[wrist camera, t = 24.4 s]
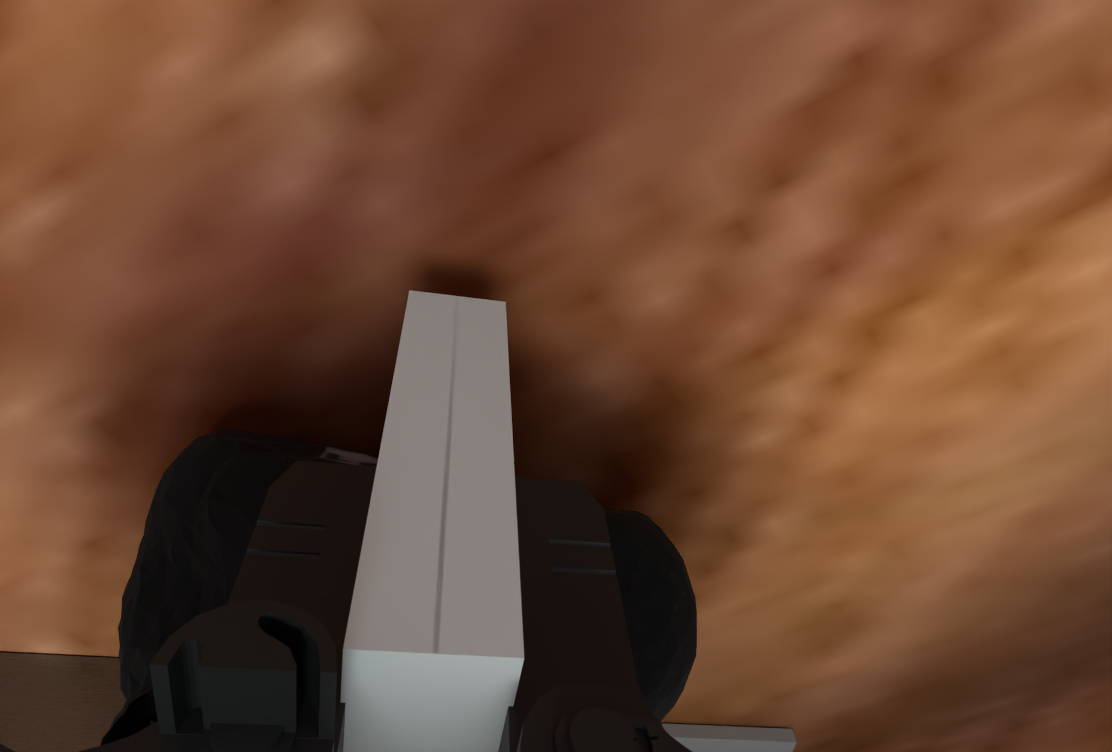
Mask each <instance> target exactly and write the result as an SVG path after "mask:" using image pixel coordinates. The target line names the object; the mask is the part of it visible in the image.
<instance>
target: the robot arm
mask: <svg viewBox="0 0 1112 752" xmlns="http://www.w3.org/2000/svg"><path fill="white" fill-rule="evenodd" d="M610 545H611V542H610V537H609V532H608V527H607V521H606V516H605V511H604V510H603V508H602V507H601V506H600V504H599V503H598V502H597V500H596V499H595V497H594V496H593V495H592V493H591V492H590V491H589V489H588V488H587V487H586V485H585V484H584V483H583V482H577V481H565V480H554V479H542V478H530V477H518V476H515V472H514V452H513V433H512V414H511V395H510V376H509V357H508V337H507V318H506V302H503V301H494V300H486V299H478V298H469V297H461V296H453V295H444V294H436V293H428V292H419V291H411V290H409V295H408V300H407V306H406V311H405V317H404V322H403V327H402V333H401V338H400V344H399V349H398V354H397V360H396V365H395V371H394V376H393V381H392V387H391V392H390V398H389V403H388V408H387V414H386V419H385V425H384V430H383V435H382V441H381V446H380V452H379V457H378V462H377V467H370V466H359V465H347V464H335V463H323V462H312V461H300V460H297V461H296V462H295V463H294V464H293V465H292V466H291V467H290V468H289V469H288V470H287V471H286V472H284V473H283V474H282V475H281V476H280V477H279V478H278V479H277V480H276V481H275V482H274V483H273V484H272V485H271V486H270V487H269V489H268V492H267V495H266V497H265V500H264V503H263V506H262V509H261V511H260V514H259V517H258V520H257V526H256V527H255V528H254V531H253V534H252V537H251V539H250V542H249V545H248V548H247V554H246V556H244V559H243V562H242V565H241V567H240V570H239V573H238V576H237V579H236V581H235V584H234V587H233V590H232V593H231V595H230V598H229V601H228V604H226V605H224V606H221V607H218V608H216V609H213V610H210V611H208V612H205V613H202V614H199V615H197V616H196V617H194V618H193V619H192V620H190V621H189V622H188V623H186V624H185V625H184V626H182V627H181V628H180V629H178V630H177V631H176V632H174V633H173V634H172V635H170V636H169V637H168V638H167V640H166V641H165V643H164V644H163V646H162V647H161V649H160V650H159V651H158V653H157V654H156V656H155V657H154V659H153V660H152V662H151V663H150V671H151V678H152V685H153V692H154V699H155V706H156V713H157V720H158V721H157V722H155V723H153V724H151V725H150V726H148V727H146V728H144V729H142V730H141V731H139V732H137V733H135V734H133V735H131V736H129V737H126V738H123V739H120V740H117V741H114V742H111V743H108V744H105V745H102V746H98V747H94V748H90V749H86V750H82V751H78V752H693V751H691V750H689V749H688V748H686V747H685V746H684V745H682V744H681V743H679V742H678V741H677V740H675V739H674V738H673V737H671V736H670V735H669V734H668V733H667V732H666V731H665V729H664V728H663V726H662V723H661V722H660V721H659V720H658V719H657V718H656V716H655V715H654V714H653V713H652V712H651V711H650V710H649V709H648V707H647V705H646V704H645V702H644V700H643V697H642V694H641V691H640V688H639V685H638V682H637V677H636V672H635V667H634V662H633V656H632V651H631V646H630V641H629V636H628V631H627V625H626V620H625V615H624V610H623V605H622V599H621V594H620V589H619V584H618V579H617V577H616V576H615V573H616V568H615V563H614V558H613V553H612V550H610ZM0 752H15V751H13V750H11V749H9V748H7V747H5V746H4V745H2V744H0Z"/></svg>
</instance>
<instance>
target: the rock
mask: <svg viewBox="0 0 1112 752" xmlns="http://www.w3.org/2000/svg"><path fill="white" fill-rule="evenodd" d="M297 460H300V461H312V462H323V463H335V464H347V465H359V466H370V467H377V462H378V458H376V457H374V456H371V455H367V454H364V453H361V452H357V451H353V450H347V449H341V448H335V447H329V446H317V445H313V444H309V443H306V442H302V441H297V440H289V439H282V438H275V437H269V436H263V435H258V434H254V433H249V432H245V431H240V430H234V429H222V430H219V431H216V432H213V433H210V434H207V435H204V436H201V437H198V438H196V439H195V440H194V441H193V442H192V443H191V444H190V445H189V446H188V447H187V448H185V449H184V450H183V451H182V452H181V453H180V455H179V456H178V457H177V458H176V459H175V461H174V462H173V463H172V464H171V465H170V466H169V468H168V469H167V470H166V471H165V472H164V474H163V476H162V478H161V480H160V483H159V485H158V487H157V489H156V492H155V495H154V498H153V501H152V504H151V507H150V510H149V513H148V516H147V519H146V524H145V530H144V536H143V538H142V540H141V543H140V546H139V550H138V555H137V559H136V562H135V565H134V567H133V570H132V574H131V577H130V579H129V581H128V583H127V585H126V588H125V591H124V594H123V597H122V613H121V620H120V623H119V626H118V631H119V642H120V650H119V661H120V689H121V691H122V693H123V695H124V696H125V698H126V702H125V705H124V707H123V708H122V710H121V711H120V712H119V713H118V714H117V715H116V716H115V717H114V720H113V722H112V724H111V726H110V729H109V730H108V732H107V733H106V734H105V736H104V737H103V738H102V741H101V745H100V746H102V745H105V744H108V743H111V742H114V741H117V740H120V739H123V738H126V737H129V736H131V735H133V734H135V733H137V732H139V731H141V730H142V729H144V728H146V727H148V726H150V725H151V724H153V723H155V722H157V721H158V720H157V713H156V706H155V699H154V692H153V685H152V678H151V671H150V663H151V662H152V660H153V659H154V657H155V656H156V654H157V653H158V651H159V650H160V649H161V647H162V646H163V644H164V643H165V641H166V640H167V638H168V637H169V636H170V635H172V634H173V633H174V632H176V631H177V630H178V629H180V628H181V627H182V626H184V625H185V624H186V623H188V622H189V621H190V620H192V619H193V618H194V617H196V616H197V615H199V614H202V613H205V612H208V611H210V610H213V609H216V608H218V607H221V606H224V605H226V604H228V601H229V598H230V595H231V593H232V590H233V587H234V584H235V581H236V579H237V576H238V573H239V570H240V567H241V565H242V562H243V559H244V556H246V554H247V548H248V545H249V542H250V539H251V537H252V534H253V531H254V528H255V527H256V526H257V520H258V517H259V514H260V511H261V509H262V506H263V503H264V500H265V497H266V495H267V492H268V489H269V487H270V486H271V485H272V484H273V483H274V482H275V481H276V480H277V479H278V478H279V477H280V476H281V475H282V474H283V473H284V472H286V471H287V470H288V469H289V468H290V467H291V466H292V465H293V464H294V463H295V462H296V461H297ZM603 510H604V511H605V516H606V521H607V527H608V532H609V537H610V542H611V545H610V550H612V553H613V558H614V563H615V568H616V573H615V576H616V577H617V579H618V584H619V589H620V594H621V599H622V605H623V610H624V615H625V620H626V625H627V631H628V636H629V641H630V646H631V651H632V656H633V662H634V667H635V672H636V677H637V682H638V685H639V688H640V691H641V694H642V697H643V700H644V702H645V704H646V705H647V707H648V709H649V710H650V711H651V712H652V713H653V714H654V715H655V716H656V718H657V719H658V720H659V721H661V720H662V719H663V718H664V717H665V715H666V714H667V713H668V712H669V711H670V710H671V709H672V708H673V707H674V705H675V704H676V702H677V700H678V698H679V697H680V695H681V693H682V691H683V689H684V687H685V684H686V681H687V679H688V676H689V673H690V670H691V668H692V665H693V662H694V660H695V657H696V648H697V611H696V601H695V595H694V592H693V589H692V586H691V583H690V579H689V576H688V573H687V570H686V567H685V564H684V561H683V558H682V557H681V555H680V554H679V552H678V551H677V549H676V548H675V546H674V545H673V543H672V542H671V541H670V540H669V538H668V537H667V536H666V535H665V533H664V532H663V531H662V529H661V528H660V527H659V526H657V525H656V524H655V523H654V522H653V521H652V520H651V519H650V518H648V517H647V516H646V515H644V514H641V513H639V512H637V511H618V510H612V509H607V508H603Z"/></svg>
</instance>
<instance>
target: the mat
mask: <svg viewBox="0 0 1112 752" xmlns="http://www.w3.org/2000/svg"><path fill="white" fill-rule="evenodd" d="M662 726H663V728H664V729H665V731H666V732H667V733H668V734H669V735H670V736H671V737H673V738H674V739H675V740H677V741H678V742H679V743H681V744H682V745H684V746H685V747H686V748H688V749H689V750H691V751H693V752H792V751H793V749H794V747H795V745H796V743H797V741H796V738H795V735H794V733H793V730H792V729H782V728H758V727H734V726H711V725H687V724H663V723H662Z"/></svg>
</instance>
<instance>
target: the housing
mask: <svg viewBox="0 0 1112 752" xmlns="http://www.w3.org/2000/svg"><path fill="white" fill-rule="evenodd" d="M125 702H126V698H125V696H124V695H123V693H122V691H121V689H120V661H119V658H103V657H83V656H63V655H43V654H22V653H2V652H0V744H2V745H4V746H5V747H7V748H9V749H11V750H13V751H15V752H78V751H82V750H86V749H90V748H94V747H98V746H100V745H101V741H102V738H103V737H104V736H105V734H106V733H107V732H108V730H109V729H110V726H111V724H112V722H113V720H114V717H115V716H116V715H117V714H118V713H119V712H120V711H121V710H122V708H123V707H124V705H125Z"/></svg>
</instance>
